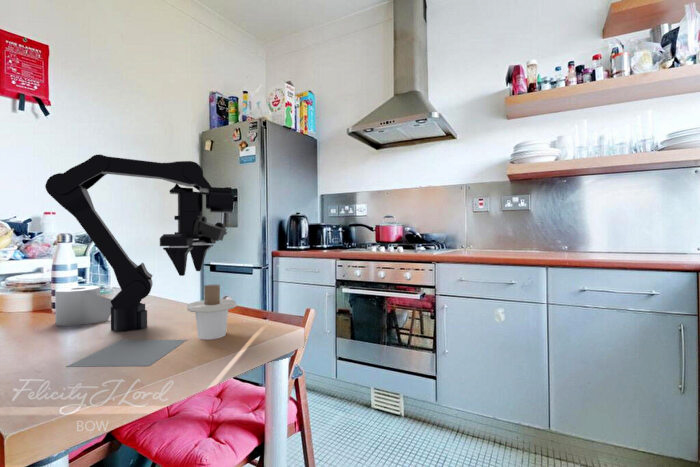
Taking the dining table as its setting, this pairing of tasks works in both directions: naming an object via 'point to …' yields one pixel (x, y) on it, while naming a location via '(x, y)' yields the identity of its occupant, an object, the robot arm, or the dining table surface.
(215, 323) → the white cup
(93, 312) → the toilet tissue
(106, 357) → the mat
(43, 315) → the dining table surface
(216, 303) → the lid
